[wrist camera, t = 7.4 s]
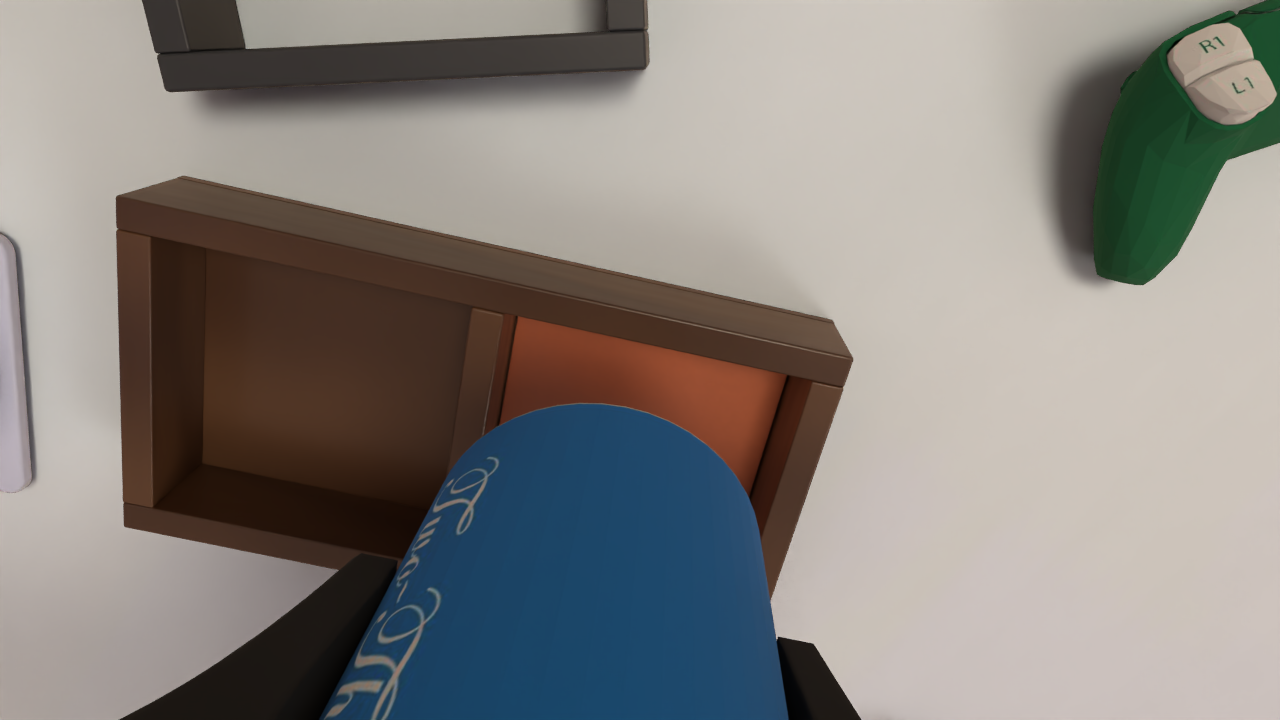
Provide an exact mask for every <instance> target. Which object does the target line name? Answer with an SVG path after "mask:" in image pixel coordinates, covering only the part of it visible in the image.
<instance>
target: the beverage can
mask: <svg viewBox="0 0 1280 720" xmlns="http://www.w3.org/2000/svg"><path fill="white" fill-rule="evenodd" d="M319 720H789V718H788V712H787V705H786V699H785V693H784V686H783V680H782V673H781V667H780V661H779V654H778V648H777V641H776V635H775V629H774V622H773V616H772V609H771V603H770V597H769V590H768V584H767V577H766V571H765V565H764V558H763V552H762V545H761V539H760V533H759V528H758V524H757V520H756V516H755V512H754V509H753V507H752V505H751V502H750V500H749V497H748V495H747V493H746V491H745V490H744V488H743V486H742V485H741V483H740V481H739V480H738V478H737V476H736V475H735V474H734V473H733V471H732V470H731V469H730V468H729V466H728V465H727V464H726V463H725V462H724V460H723V459H722V458H721V457H720V456H719V455H718V454H717V453H716V452H714V451H713V450H712V449H711V448H710V447H709V446H708V445H707V444H706V443H704V442H703V441H701V440H700V439H699V438H697V437H696V436H694V435H693V434H692V433H690V432H689V431H687V430H685V429H683V428H681V427H680V426H678V425H676V424H674V423H672V422H670V421H668V420H666V419H663V418H661V417H658V416H656V415H653V414H651V413H648V412H644V411H641V410H637V409H633V408H629V407H625V406H618V405H611V404H603V403H574V404H564V405H556V406H551V407H547V408H543V409H538V410H534V411H532V412H529V413H526V414H523V415H521V416H518V417H515V418H513V419H511V420H509V421H507V422H505V423H503V424H502V425H500V426H498V427H496V428H494V429H493V430H492V431H490V432H489V433H487V434H486V435H484V436H483V437H482V438H480V439H479V440H477V441H476V442H475V443H474V444H473V445H472V446H471V447H470V448H469V449H468V450H467V451H466V452H465V453H464V454H463V455H462V456H461V457H460V459H459V460H458V461H457V463H456V464H455V465H454V466H453V468H452V469H451V470H450V472H449V474H448V476H447V478H446V479H445V481H444V483H443V485H442V487H441V488H440V490H439V492H438V494H437V496H436V498H435V500H434V502H433V504H432V506H431V507H430V509H429V511H428V513H427V515H426V517H425V519H424V521H423V523H422V525H421V526H420V528H419V530H418V532H417V534H416V536H415V538H414V540H413V542H412V544H411V545H410V547H409V549H408V551H407V553H406V555H405V557H404V559H403V561H402V563H401V564H400V566H399V568H398V570H397V572H396V574H395V576H394V578H393V580H392V582H391V583H390V585H389V587H388V589H387V591H386V593H385V595H384V597H383V599H382V601H381V602H380V604H379V606H378V608H377V610H376V612H375V614H374V616H373V618H372V620H371V621H370V623H369V625H368V627H367V629H366V631H365V633H364V635H363V637H362V639H361V640H360V642H359V644H358V646H357V648H356V650H355V652H354V654H353V656H352V658H351V659H350V661H349V663H348V665H347V667H346V669H345V671H344V673H343V675H342V677H341V678H340V680H339V682H338V684H337V686H336V688H335V690H334V692H333V694H332V695H331V697H330V699H329V701H328V703H327V705H326V707H325V709H324V711H323V713H322V714H321V716H320V718H319Z"/></svg>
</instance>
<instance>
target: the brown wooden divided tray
mask: <svg viewBox="0 0 1280 720" xmlns="http://www.w3.org/2000/svg"><path fill="white" fill-rule="evenodd" d="M116 224H117V228H118V230H117V231H116V238H117V278H118V318H119V358H120V399H121V439H122V479H123V502H124V504H123V509H124V526H125V527H128V528H132V529H137V530H142V531H147V532H152V533H157V534H162V535H167V536H172V537H177V538H182V539H187V540H192V541H197V542H202V543H207V544H212V545H217V546H222V547H227V548H232V549H237V550H242V551H247V552H252V553H257V554H262V555H267V556H272V557H277V558H282V559H287V560H292V561H297V562H301V563H306V564H311V565H316V566H321V567H326V568H331V569H336V570H340V569H341V568H342V567H343V566H345V565H346V564H347V563H348V562H349V561H350V560H351V559H353V558H354V557H355V556H357V555H359V554H361V553H363V554H368V555H373V556H378V557H383V558H388V559H393V560H398V563H397V570H398V568H399V566H400V564H401V563H402V561H403V559H404V557H405V555H406V553H407V551H408V549H409V547H410V545H411V544H412V542H413V540H414V538H415V536H416V534H417V532H418V530H419V528H420V526H421V525H422V523H423V521H424V519H425V517H426V515H427V513H428V511H429V509H430V507H431V506H432V504H433V502H434V500H435V498H436V496H437V494H438V492H439V490H440V488H441V487H442V485H443V483H444V481H445V479H446V478H447V476H448V474H449V472H450V470H451V469H452V468H453V466H454V465H455V464H456V463H457V461H458V460H459V459H460V457H461V456H462V455H463V454H464V453H465V452H466V451H467V450H468V449H469V448H470V447H471V446H472V445H473V444H474V443H475V442H476V441H477V440H479V439H480V438H482V437H483V436H484V435H486V434H487V433H489V432H490V431H492V430H493V429H494V428H496V427H498V426H500V425H502V424H503V423H505V422H507V421H509V420H511V419H513V418H515V417H518V416H521V415H523V414H526V413H529V412H532V411H534V410H538V409H543V408H547V407H551V406H556V405H564V404H574V403H603V404H611V405H618V406H625V407H629V408H633V409H637V410H641V411H644V412H648V413H651V414H653V415H656V416H658V417H661V418H663V419H666V420H668V421H670V422H672V423H674V424H676V425H678V426H680V427H681V428H683V429H685V430H687V431H689V432H690V433H692V434H693V435H694V436H696V437H697V438H699V439H700V440H701V441H703V442H704V443H706V444H707V445H708V446H709V447H710V448H711V449H712V450H713V451H714V452H716V453H717V454H718V455H719V456H720V457H721V458H722V459H723V460H724V462H725V463H726V464H727V465H728V466H729V468H730V469H731V470H732V471H733V473H734V474H735V475H736V476H737V478H738V480H739V481H740V483H741V485H742V486H743V488H744V490H745V491H746V493H747V495H748V497H749V500H750V502H751V505H752V507H753V509H754V512H755V516H756V520H757V524H758V528H759V533H760V539H761V545H762V552H763V558H764V565H765V571H766V577H767V584H768V590H769V597H770V600H771V597H772V595H773V592H774V589H775V586H776V583H777V580H778V577H779V574H780V571H781V569H782V566H783V563H784V560H785V557H786V554H787V551H788V548H789V545H790V542H791V540H792V537H793V534H794V531H795V528H796V525H797V522H798V519H799V516H800V513H801V511H802V508H803V505H804V502H805V499H806V496H807V493H808V490H809V487H810V484H811V482H812V479H813V476H814V473H815V470H816V467H817V464H818V461H819V458H820V455H821V453H822V450H823V447H824V444H825V441H826V438H827V435H828V432H829V429H830V426H831V424H832V421H833V418H834V415H835V412H836V409H837V406H838V403H839V400H840V398H841V395H842V392H843V386H844V385H845V382H846V379H847V376H848V374H849V371H850V368H851V365H852V362H853V357H852V355H851V353H850V352H849V350H848V348H847V346H846V344H845V343H844V341H843V339H842V337H841V336H840V334H839V332H838V330H837V328H836V327H835V325H834V322H833V320H830V319H826V318H821V317H817V316H812V315H808V314H803V313H799V312H794V311H790V310H785V309H781V308H776V307H772V306H767V305H763V304H758V303H754V302H749V301H745V300H740V299H736V298H731V297H727V296H722V295H718V294H713V293H709V292H704V291H700V290H695V289H691V288H686V287H682V286H677V285H673V284H668V283H664V282H659V281H655V280H650V279H646V278H641V277H637V276H632V275H628V274H623V273H619V272H614V271H610V270H605V269H601V268H596V267H592V266H587V265H583V264H578V263H574V262H569V261H565V260H560V259H556V258H551V257H547V256H542V255H538V254H533V253H529V252H524V251H520V250H515V249H511V248H506V247H502V246H497V245H493V244H488V243H484V242H479V241H475V240H470V239H466V238H461V237H457V236H452V235H448V234H443V233H439V232H434V231H430V230H425V229H421V228H416V227H412V226H407V225H403V224H398V223H394V222H389V221H385V220H380V219H376V218H371V217H367V216H362V215H358V214H353V213H349V212H344V211H340V210H335V209H331V208H326V207H322V206H317V205H313V204H308V203H304V202H299V201H295V200H290V199H286V198H281V197H277V196H272V195H268V194H263V193H259V192H254V191H250V190H245V189H241V188H236V187H232V186H227V185H223V184H218V183H214V182H209V181H205V180H200V179H196V178H191V177H187V176H181V177H178V178H176V179H172V180H169V181H166V182H162V183H159V184H156V185H152V186H149V187H145V188H142V189H139V190H135V191H132V192H128V193H125V194H122V195H118V196H117V197H116ZM396 572H397V571H396Z"/></svg>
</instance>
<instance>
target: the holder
mask: <svg viewBox="0 0 1280 720" xmlns="http://www.w3.org/2000/svg"><path fill="white" fill-rule="evenodd" d="M142 2H143V6H144V10H145V14H146V18H147V22H148V26H149V30H150V34H151V38H152V42H153V46H154V50H155V52H156V53H158V54H159V53H161V54H159V55H157V59H158V63H159V67H160V71H161V75H162V79H163V83H164V87H165V89H166V91H169V92H185V91H206V90H227V89H249V88H270V87H292V86H313V85H334V84H356V83H377V82H399V81H420V80H441V79H463V78H484V77H506V76H527V75H548V74H570V73H591V72H613V71H634V70H644V69H646V67H647V66H648V65H649V62H650V61H649V35H648V32H647V31H646V30H647V29H648V8H647V0H606V16H607V29H608V31H606V32H585V33H565V34H545V35H525V36H504V37H484V38H464V39H443V40H423V41H403V42H382V43H362V44H342V45H321V46H301V47H281V48H260V49H245V46H244V41H243V36H242V31H241V27H240V22H239V17H238V12H237V8H236V3H235V0H142Z"/></svg>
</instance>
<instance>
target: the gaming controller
mask: <svg viewBox="0 0 1280 720" xmlns="http://www.w3.org/2000/svg"><path fill="white" fill-rule="evenodd" d="M1277 143H1280V0H1266V1H1264V2H1261V3H1259V4H1256V5H1253V6H1251V7H1248V8H1246V9H1243V10H1241V11H1239V12H1238V14H1237V15H1236V14H1235V13H1234V12H1232V11H1227V12H1225V13H1222V14H1220V15H1217V16H1215V17H1212V18H1210V19H1208V20H1205V21H1203V22H1200V23H1198V24H1195V25H1193V26H1191V27H1189V28H1187V29H1185V30H1184V31H1182V32H1180V33H1178V34H1177V35H1175V36H1173V37H1171V38H1170V39H1168V40H1166V41H1164V42H1163V43H1162V44H1161V45H1160V46H1159V47H1158V48H1157V49H1156V50H1155V51H1154V52H1152V54H1151V55H1150V56H1149V57H1148V58H1147V60H1146V61H1145V62H1144V63H1143V64H1142V66H1141V67H1140V68H1139V69H1138V71H1135V72H1133V73H1132V74H1131V75H1130V76H1129V77H1128V78H1127V79H1126V80H1125V82H1124V83H1123V85H1122V86H1121V96H1120V98H1119V100H1118V102H1117V104H1116V106H1115V108H1114V110H1113V112H1112V115H1111V118H1110V122H1109V125H1108V128H1107V132H1106V135H1105V138H1104V141H1103V145H1102V150H1101V157H1100V164H1099V171H1098V177H1097V184H1096V191H1095V198H1094V205H1093V231H1094V261H1095V267H1096V272H1097V275H1099V276H1101V277H1103V278H1106V279H1110V280H1114V281H1118V282H1122V283H1127V284H1133V285H1144V284H1146V283H1147V282H1149V281H1150V280H1152V279H1153V278H1155V277H1156V276H1157V275H1158V274H1159V273H1160V272H1161V271H1162V270H1163V269H1164V268H1165V267H1166V266H1167V265H1168V264H1169V263H1170V262H1171V261H1172V260H1173V259H1174V258H1175V257H1176V256H1177V254H1178V252H1179V251H1180V249H1181V247H1182V245H1183V244H1184V242H1185V240H1186V238H1187V236H1188V235H1189V233H1190V231H1191V229H1192V227H1193V225H1194V223H1195V221H1196V219H1197V217H1198V215H1199V213H1200V211H1201V209H1202V207H1203V205H1204V203H1205V201H1206V199H1207V197H1208V194H1209V192H1210V190H1211V188H1212V186H1213V184H1214V182H1215V180H1216V178H1217V176H1218V174H1219V172H1220V170H1221V169H1222V167H1223V165H1224V164H1225V162H1226V161H1227V160H1229V159H1232V158H1235V157H1238V156H1241V155H1244V154H1247V153H1250V152H1253V151H1256V150H1259V149H1262V148H1265V147H1268V146H1271V145H1274V144H1277Z"/></svg>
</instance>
